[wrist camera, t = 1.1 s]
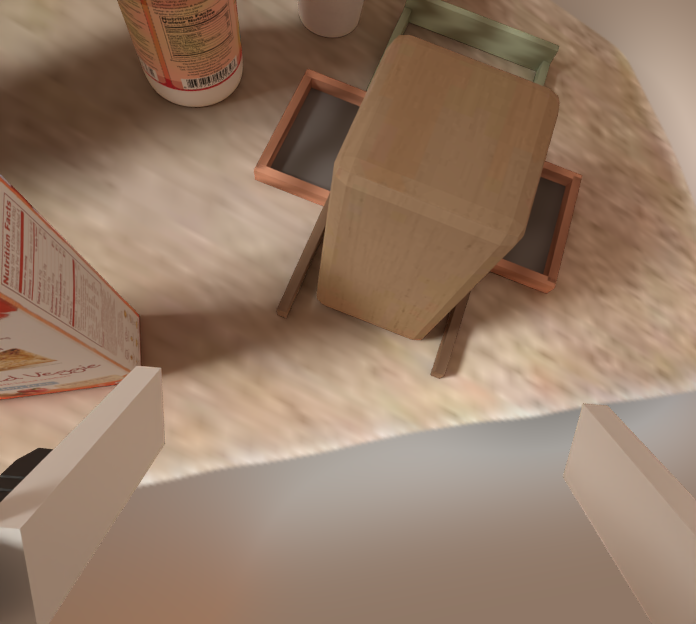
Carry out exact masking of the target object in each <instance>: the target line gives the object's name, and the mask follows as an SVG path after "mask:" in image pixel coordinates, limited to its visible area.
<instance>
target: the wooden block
mask: <svg viewBox="0 0 696 624" xmlns="http://www.w3.org/2000/svg"><path fill="white" fill-rule="evenodd" d="M559 104H560V103H559V97H558V95H556V94H555V93H554V92H553V91H552V90H551V89H549V88H547V87H544V86H542V85H539V84H537V83H534V82H531V81H529V80H526V79H524V78H521V77H518V76H516V75H513V74H511V73H508V72H505V71H503V70H500V69H498V68H495V67H492V66H490V65H487V64H485V63H482V62H479V61H477V60H474V59H472V58H469V57H466V56H464V55H461V54H459V53H456V52H453V51H451V50H448V49H446V48H443V47H440V46H438V45H435V44H433V43H430V42H427V41H425V40H422V39H420V38H417V37H414V36H412V35H399V36H398V37H397V38H395V39H394V40H393V42H392V43H391V44H390V45H389V46H388V48H387V49H386V51H385V53H384V55H383V58H382V60H381V62H380V64H379V66H378V69H377V71H376V73H375V75H374V77H373V79H372V82H371V84H370V86H369V88H368V90H367V92H366V95H365V97H364V99H363V101H362V103H361V105H360V108H359V110H358V112H357V114H356V116H355V118H354V121H353V123H352V125H351V127H350V129H349V131H348V134H347V136H346V138H345V140H344V142H343V144H342V147H341V149H340V151H339V153H338V155H337V158H336V160H335V162H334V168H333V176H332V183H331V190H330V197H329V205H328V212H327V219H326V226H325V233H324V241H323V248H322V255H321V262H320V270H319V277H318V284H317V299H318V300H319V301H320V302H321V303H322V304H323V305H325V306H328V307H330V308H333V309H335V310H338V311H341V312H343V313H346V314H348V315H351V316H353V317H356V318H358V319H361V320H363V321H366V322H369V323H371V324H374V325H376V326H379V327H381V328H384V329H386V330H389V331H391V332H394V333H396V334H399V335H402V336H404V337H407V338H409V339H412V340H422V339H423V338H424V337H425V336H426V335H427V334H428V333H429V332H430V331H431V330H432V329H433V328H434V327H435V326H436V325H437V324H438V323H439V322H440V321H441V320H442V319H443V318H444V317H445V316H446V315H447V314H448V313H449V312H450V311H451V310H452V309H453V308H454V307H455V306H456V305H457V304H458V303H459V302H460V301H461V300H462V299H463V298H464V297H465V296H466V295H467V294H468V293H469V292H470V291H471V290H472V289H473V288H474V286H475V285H476V284H477V283H478V282H479V281H480V280H481V279H482V278H483V277H484V276H485V275H486V274H487V273H488V272H489V271H490V270H491V269H492V268H493V267H494V266H495V265H496V264H497V263H498V262H499V261H500V260H501V259H502V258H503V257H504V256H505V255H506V254H507V253H508V252H509V251H510V250H511V249H512V248H513V247H514V246H515V245H516V244H517V243H518V242H519V241H520V240H521V239H522V237H523V236H524V234H525V230H526V227H527V223H528V219H529V216H530V212H531V209H532V205H533V202H534V198H535V194H536V191H537V187H538V184H539V180H540V177H541V173H542V169H543V166H544V162H545V159H546V155H547V151H548V148H549V144H550V141H551V137H552V134H553V130H554V126H555V123H556V119H557V116H558V110H559Z"/></svg>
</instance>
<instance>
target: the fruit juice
mask: <svg viewBox="0 0 696 624" xmlns="http://www.w3.org/2000/svg"><path fill="white" fill-rule="evenodd" d="M117 1H118V4H119V6H120V9H121V12H122V14H123V17H124V20H125V23H126V25H127V28H128V31H129V33H130V36H131V39H132V41H133V44H134V47H135V50H136V52H137V55H138V58H139V60H140V63H141V66H142V68H143V71H144V74H145V76H146V78H147V79H148V81H149V83H150V84H151V86H152V87H153V88H154V89H155V91H156V92H157V93H158V94H160V95H161V96H162V97H164V98H165V99H167V100H168V101H170V102H173V103H175V104H178V105H182V106H187V107H203V106H209V105H212V104H215V103H218V102H220V101H222V100H224V99H225V98H227V97H228V96H229V95H231V94H232V93H233V91H234V90H235V89H236V88H237V86H238V84H239V82H240V80H241V77H242V72H243V55H242V47H241V38H240V30H239V21H238V13H237V5H236V0H117Z"/></svg>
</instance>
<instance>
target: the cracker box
mask: <svg viewBox="0 0 696 624" xmlns="http://www.w3.org/2000/svg"><path fill="white" fill-rule="evenodd" d="M136 366H141V350H140V325H139V314H138V313H137V312H136V311H135V310H134V309H133V308H132V307H131V306H130V305H129V304H128V303H127V302H126V301H125V300H124V299H123V298H122V297H121V296H120V295H119V294H118V293H117V292H116V291H115V290H114V289H113V288H112V287H111V286H110V285H109V284H108V283H107V281H106V280H105V279H104V278H103V277H102V276H101V275H100V274H99V273H98V272H97V271H96V270H95V269H94V268H93V267H92V266H91V265H90V264H89V263H88V262H87V261H86V260H85V259H84V258H83V257H82V256H81V255H80V254H79V253H78V252H77V251H76V250H75V249H74V248H73V247H72V246H71V245H70V244H69V243H68V242H67V241H66V240H65V239H64V238H63V237H62V236H61V235H60V234H59V233H58V232H57V231H56V230H55V229H54V228H53V227H52V226H51V225H50V224H49V223H48V222H47V221H46V220H45V219H44V217H43V216H42V215H41V214H40V213H39V212H38V211H37V210H36V209H35V208H34V207H33V206H32V205H31V204H30V203H29V202H28V201H27V200H26V199H25V198H24V197H23V196H22V195H21V194H20V193H19V192H18V191H17V190H16V189H15V188H14V187H13V186H12V185H11V184H10V183H9V182H8V181H7V180H6V179H5V178H4V177H3V176H2V175H1V174H0V399H8V398H16V397H23V396H31V395H38V394H46V393H54V392H62V391H70V390H78V389H85V388H93V387H100V386H108V385H116V384H119V383H120V382H121V381H122V380H123V379H124V378H125V377H126V376H127V375H128V374H129V373H130V372H131V371H132V370H133V369H134V368H135V367H136Z"/></svg>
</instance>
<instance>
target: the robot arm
mask: <svg viewBox="0 0 696 624" xmlns="http://www.w3.org/2000/svg"><path fill="white" fill-rule="evenodd" d="M164 444H165V433H164V412H163V392H162V372H161V368H158V367H146V366H136V367H135V368H134V369H133V370H132V371H131V372H130V373H129V374H128V375H127V376H126V377H125V378H124V379H123V380H122V381H121V382H120V383H119V384H118V385H117V386H116V387H115V388H114V389H113V390H112V391H111V392H110V393H109V394H108V395H107V396H106V397H105V398H104V399H103V400H102V401H101V402H100V403H99V404H98V405H97V406H96V407H95V408H94V409H93V410H92V411H91V412H90V413H89V414H88V415H87V416H86V417H85V418H84V419H83V420H82V421H81V422H80V423H79V424H78V425H77V426H76V427H75V428H74V429H73V430H72V431H71V432H70V433H69V434H68V435H67V436H66V437H65V438H64V439H63V440H62V441H61V442H60V443H59V444H58V445H57V446H56V447H55V448H54V449H44V448H37V449H36V450H34V451H32V452H30V453H28V454H27V455H25V456H23V457H21V458H19V459H17V460H16V461H15V462H14V463H13V464H12V465H10V466H9V467H8V468H7V469H6V470H5V471H4V472H3V473H2V474H1V475H0V624H49V623H50V621H51V620H52V618H53V617H54V615H55V613H56V612H57V610H58V609H59V607H60V606H61V604H62V603H63V601H64V600H65V598H66V597H67V595H68V593H69V592H70V590H71V589H72V587H73V586H74V584H75V583H76V581H77V579H78V578H79V576H80V575H81V573H82V572H83V570H84V569H85V567H86V565H87V564H88V562H89V561H90V559H91V558H92V556H93V555H94V553H95V551H96V550H97V548H98V547H99V545H100V544H101V542H102V541H103V539H104V538H105V536H106V534H107V533H108V531H109V530H110V528H111V527H112V525H113V524H114V522H115V520H116V519H117V517H118V516H119V514H120V513H121V511H122V510H123V508H124V506H125V505H126V503H127V502H128V500H129V499H130V497H131V496H132V494H133V493H134V491H135V489H136V488H137V486H138V485H139V483H140V482H141V480H142V479H143V477H144V475H145V474H146V472H147V471H148V469H149V468H150V466H151V465H152V463H153V462H154V460H155V458H156V457H157V455H158V454H159V452H160V451H161V449H162V448H163V446H164ZM563 478H564V480H565V481H566V483H567V485H568V486H569V488H570V490H571V491H572V493H573V495H574V496H575V498H576V500H577V501H578V503H579V504H580V506H581V508H582V509H583V511H584V513H585V514H586V516H587V518H588V519H589V521H590V523H591V524H592V526H593V528H594V529H595V531H596V533H597V534H598V536H599V538H600V539H601V541H602V543H603V544H604V546H605V547H606V549H607V550H608V552H609V554H610V556H611V557H612V559H613V561H614V562H615V564H616V566H617V567H618V569H619V571H620V572H621V574H622V576H623V577H624V579H625V581H626V582H627V584H628V585H629V587H630V589H631V591H632V592H633V594H634V595H635V597H636V599H637V600H638V602H639V604H640V605H641V607H642V609H643V610H644V612H645V614H646V615H647V617H648V619H649V620H650V622H651V624H696V499H695V498H694V497H693V496H692V495H691V494H690V493H689V492H688V491H687V490H686V489H685V488H684V487H683V486H682V484H681V483H680V482H679V481H678V480H677V479H676V478H675V477H674V476H673V475H672V474H671V473H670V472H669V471H668V470H667V469H666V467H665V466H664V465H663V464H662V463H661V462H660V461H659V460H658V459H657V458H656V457H655V456H654V455H653V454H652V453H651V451H650V450H649V449H648V448H647V447H646V446H645V445H644V444H643V443H642V442H641V441H640V440H639V439H638V438H637V436H636V435H635V434H634V433H633V432H632V431H631V430H630V429H629V428H628V427H627V426H626V425H625V424H624V423H623V422H622V421H621V419H620V418H619V417H618V416H617V415H616V414H615V413H614V412H613V411H612V410H611V409H610V408H609V407H608V406H607V405H595V404H583V406H582V409H581V413H580V416H579V420H578V424H577V428H576V431H575V435H574V438H573V442H572V446H571V449H570V453H569V456H568V460H567V464H566V467H565V471H564V474H563Z"/></svg>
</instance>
